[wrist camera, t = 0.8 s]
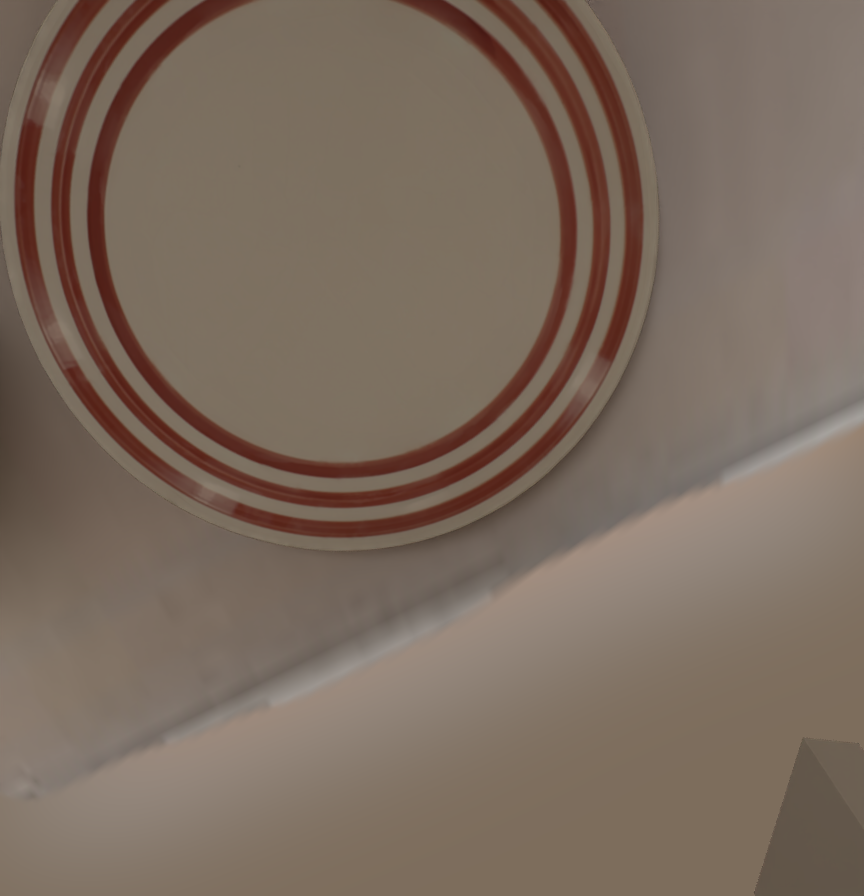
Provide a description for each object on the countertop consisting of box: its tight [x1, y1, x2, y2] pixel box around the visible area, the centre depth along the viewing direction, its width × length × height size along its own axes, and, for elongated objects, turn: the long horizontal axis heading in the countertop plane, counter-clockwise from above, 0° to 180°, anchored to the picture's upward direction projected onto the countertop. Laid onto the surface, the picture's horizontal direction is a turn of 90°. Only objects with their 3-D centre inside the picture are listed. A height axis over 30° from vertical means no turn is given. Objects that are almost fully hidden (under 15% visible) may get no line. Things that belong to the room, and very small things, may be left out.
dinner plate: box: [0, 0, 659, 551], centre depth 33 cm, size 27×27×3 cm
